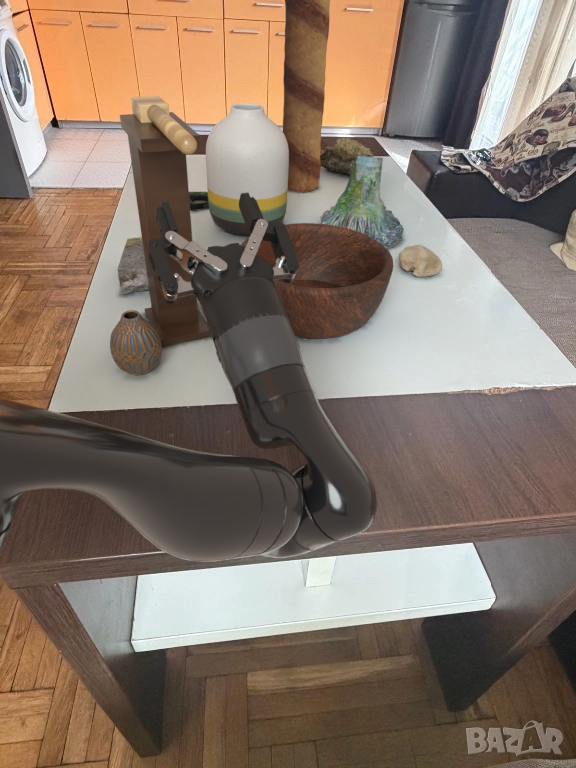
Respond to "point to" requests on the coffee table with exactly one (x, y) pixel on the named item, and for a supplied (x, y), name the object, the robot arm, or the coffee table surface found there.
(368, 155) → the mineral specimen
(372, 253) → the wooden bowl
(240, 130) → the vase
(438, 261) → the stone
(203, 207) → the gun
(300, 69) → the wafer roll
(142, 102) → the wooden mallet
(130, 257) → the geological specimen
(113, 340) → the vase
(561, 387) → the coffee table surface
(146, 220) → the stand
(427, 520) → the coffee table surface
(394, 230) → the tree stump
